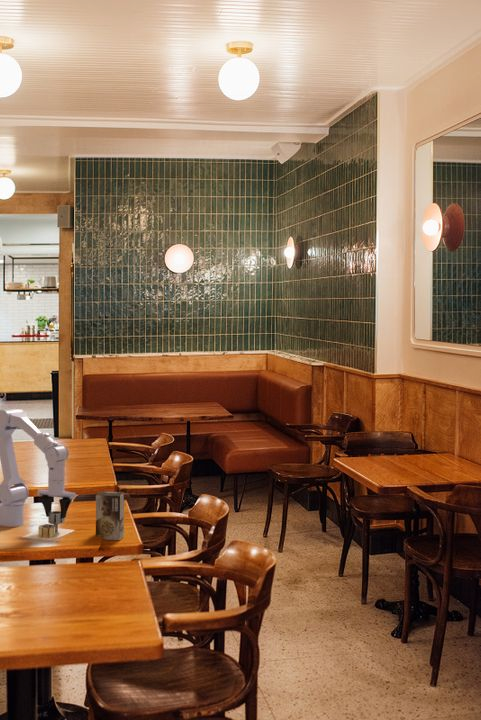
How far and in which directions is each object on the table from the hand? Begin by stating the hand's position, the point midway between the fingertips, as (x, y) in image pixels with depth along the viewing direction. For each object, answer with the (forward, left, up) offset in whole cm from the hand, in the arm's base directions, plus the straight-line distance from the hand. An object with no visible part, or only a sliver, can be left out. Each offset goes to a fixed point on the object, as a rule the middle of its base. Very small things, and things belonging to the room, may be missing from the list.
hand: (55, 517), depth 294 cm
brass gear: (0, -6, -6) cm, 8 cm away
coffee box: (+19, +5, -7) cm, 21 cm away
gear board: (-1, -3, -7) cm, 7 cm away
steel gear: (0, 0, -2) cm, 2 cm away
